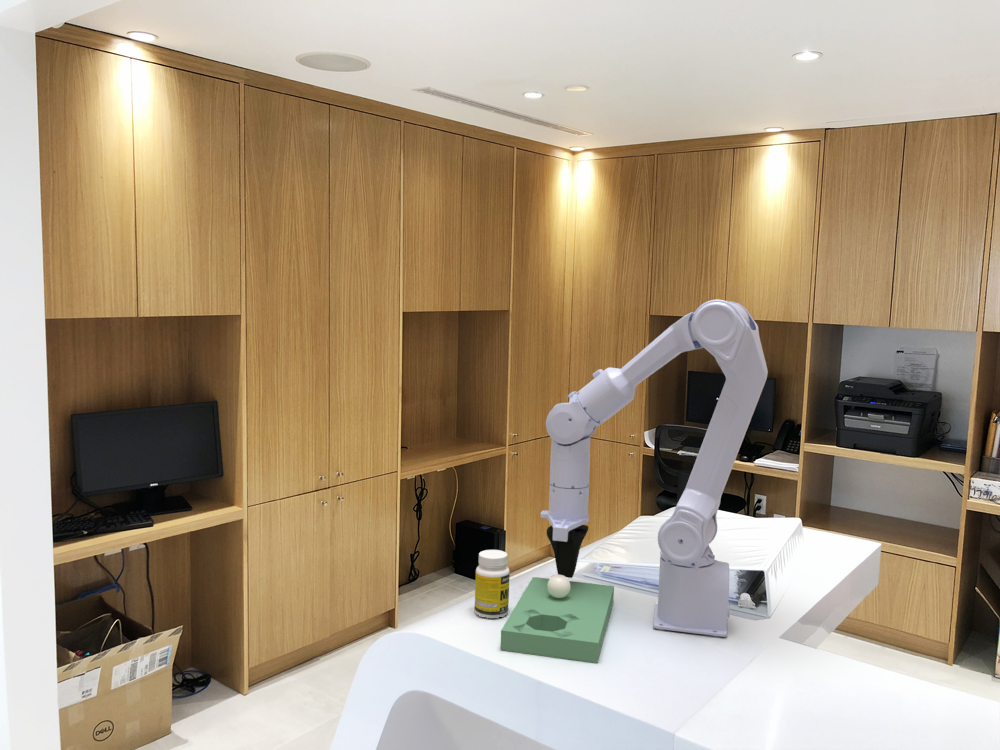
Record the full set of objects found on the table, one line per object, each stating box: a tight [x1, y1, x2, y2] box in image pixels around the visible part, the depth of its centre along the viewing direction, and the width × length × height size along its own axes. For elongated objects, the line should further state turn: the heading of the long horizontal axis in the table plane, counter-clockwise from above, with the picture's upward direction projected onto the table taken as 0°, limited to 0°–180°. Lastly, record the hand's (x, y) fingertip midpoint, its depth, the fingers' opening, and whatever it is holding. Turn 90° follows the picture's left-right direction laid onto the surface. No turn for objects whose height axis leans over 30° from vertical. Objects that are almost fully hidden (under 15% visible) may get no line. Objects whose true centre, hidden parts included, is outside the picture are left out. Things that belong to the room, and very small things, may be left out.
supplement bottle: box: [474, 549, 511, 619], centre depth 106 cm, size 5×5×8 cm
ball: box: [547, 573, 570, 598], centre depth 106 cm, size 3×3×3 cm
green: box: [500, 576, 615, 664], centre depth 103 cm, size 12×20×2 cm, turn 166°
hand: (566, 575), depth 112 cm, fingers closed
